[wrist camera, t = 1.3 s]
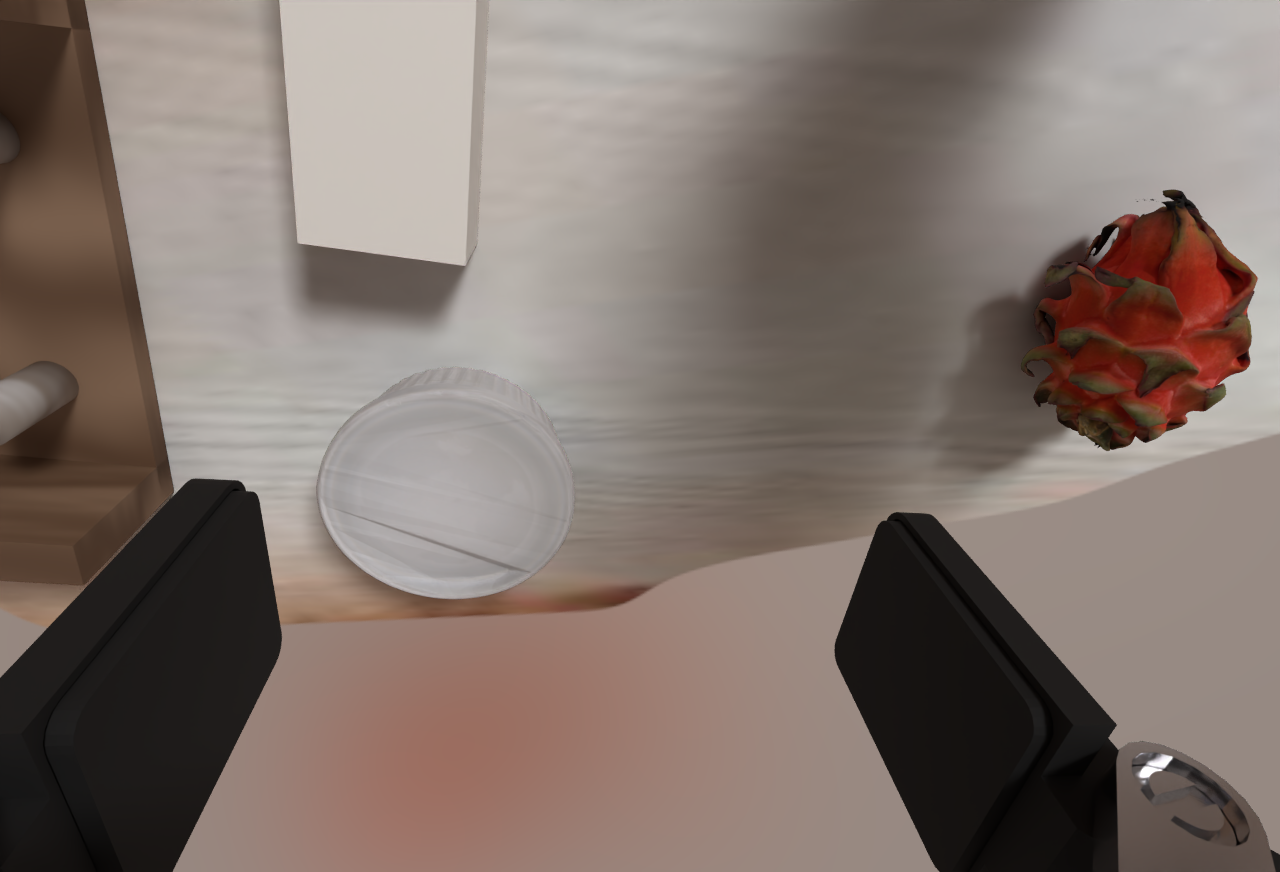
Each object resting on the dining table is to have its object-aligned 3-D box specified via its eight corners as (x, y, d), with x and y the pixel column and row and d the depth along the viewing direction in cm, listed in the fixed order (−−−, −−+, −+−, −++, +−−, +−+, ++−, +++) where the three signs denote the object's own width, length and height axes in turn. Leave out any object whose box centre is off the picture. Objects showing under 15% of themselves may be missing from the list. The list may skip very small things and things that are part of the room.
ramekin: (381, 547, 36) (354, 616, 31) (320, 358, 30) (276, 407, 26) (584, 523, 36) (587, 587, 32) (559, 334, 31) (558, 378, 26)
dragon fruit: (1008, 412, 38) (1054, 192, 33) (1194, 437, 34) (1271, 190, 29) (1003, 460, 31) (1058, 189, 27) (1236, 499, 27) (1344, 186, 23)
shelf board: (311, -256, 21) (253, -337, 17) (500, -208, 22) (487, -271, 18) (334, 220, 28) (297, 242, 24) (478, 241, 29) (465, 265, 25)
